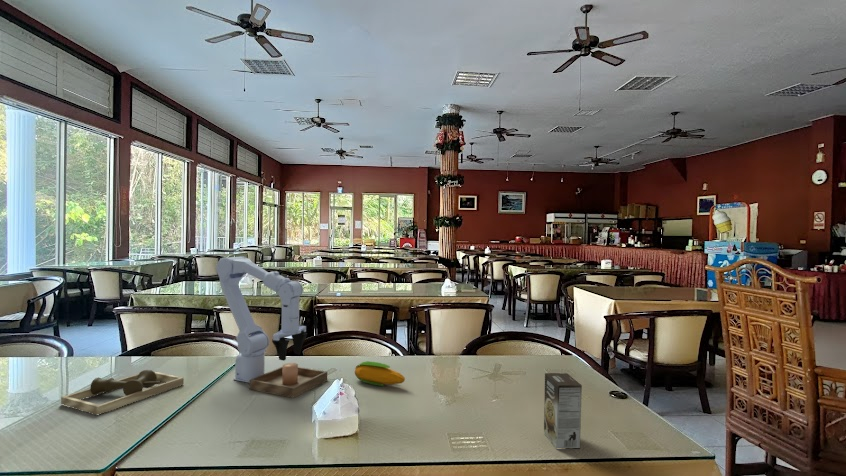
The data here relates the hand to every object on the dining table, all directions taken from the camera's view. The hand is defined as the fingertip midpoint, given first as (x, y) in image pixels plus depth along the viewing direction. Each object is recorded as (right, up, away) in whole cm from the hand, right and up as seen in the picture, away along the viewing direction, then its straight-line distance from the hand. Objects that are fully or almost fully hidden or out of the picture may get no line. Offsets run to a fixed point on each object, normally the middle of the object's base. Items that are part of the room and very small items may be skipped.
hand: (289, 356), depth 150 cm
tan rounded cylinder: (0, -9, 0) cm, 9 cm away
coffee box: (+81, -12, -37) cm, 90 cm away
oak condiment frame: (-48, -9, -11) cm, 50 cm away
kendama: (-48, -9, -11) cm, 50 cm away
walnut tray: (0, -9, 0) cm, 9 cm away
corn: (+31, -10, +2) cm, 32 cm away
